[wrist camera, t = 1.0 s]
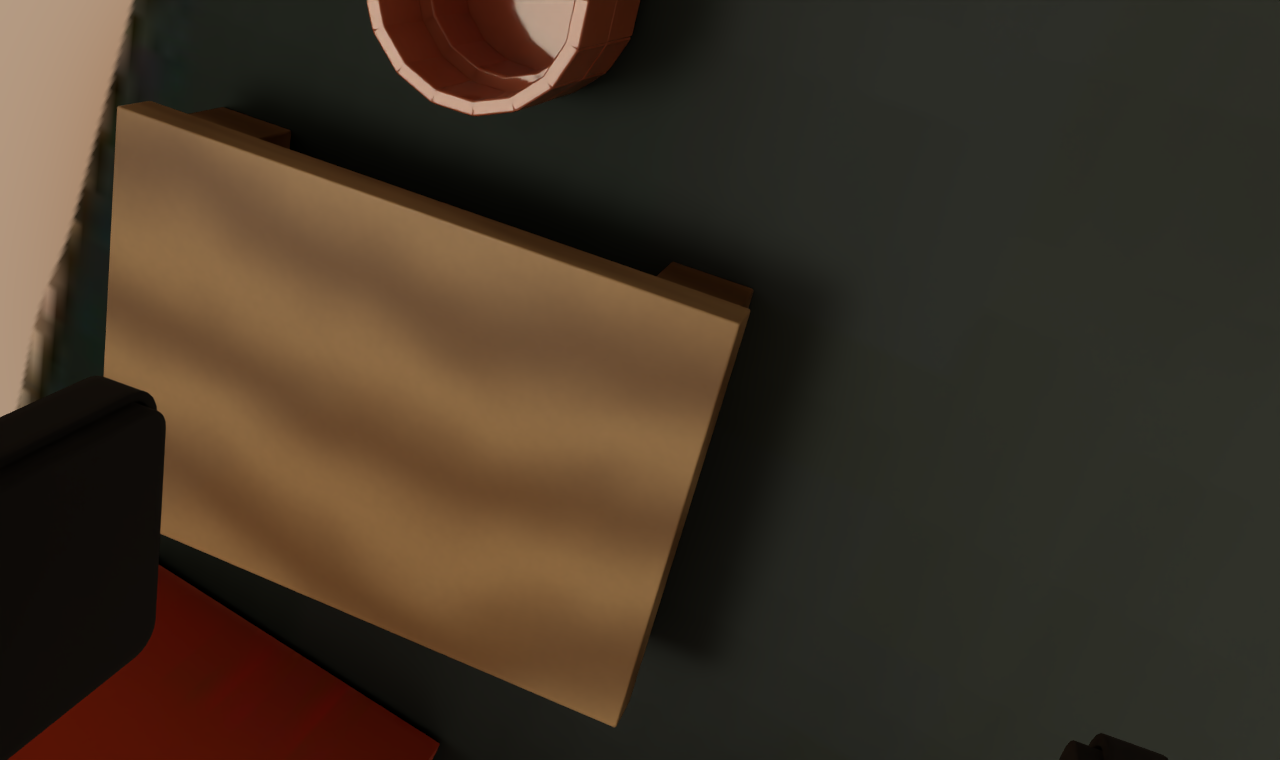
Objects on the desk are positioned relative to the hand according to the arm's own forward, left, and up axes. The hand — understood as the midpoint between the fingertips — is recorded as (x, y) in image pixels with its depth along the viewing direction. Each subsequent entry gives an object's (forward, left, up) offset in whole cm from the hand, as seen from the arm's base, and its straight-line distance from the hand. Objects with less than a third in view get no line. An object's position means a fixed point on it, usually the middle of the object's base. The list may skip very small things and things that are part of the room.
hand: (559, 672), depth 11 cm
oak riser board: (+13, -13, -28) cm, 33 cm away
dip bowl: (-3, -12, -28) cm, 30 cm away
